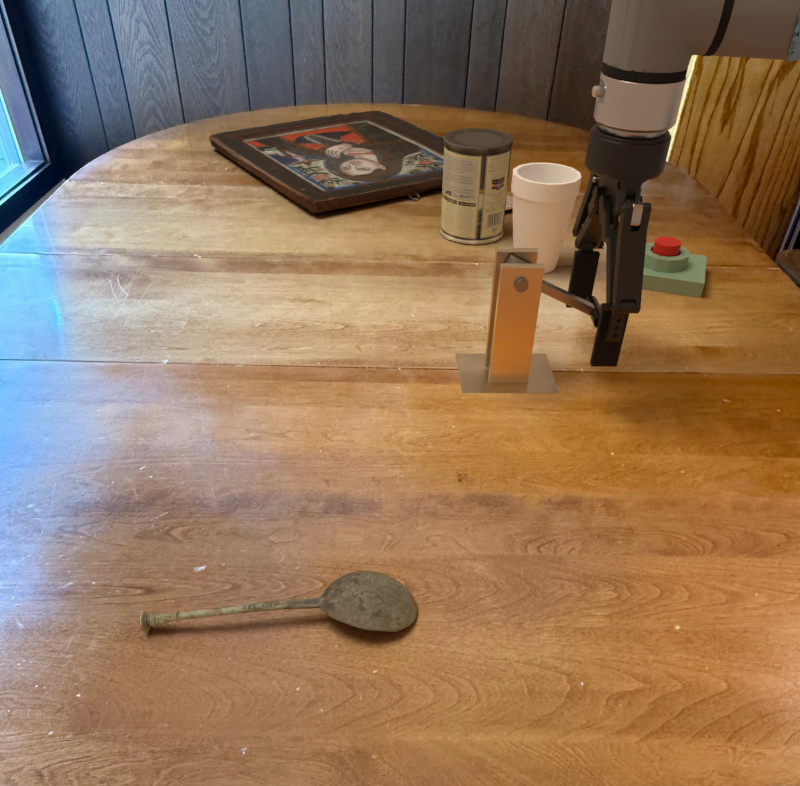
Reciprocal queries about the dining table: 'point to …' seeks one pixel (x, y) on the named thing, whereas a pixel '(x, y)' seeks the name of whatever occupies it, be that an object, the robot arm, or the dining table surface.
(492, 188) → the coffee can
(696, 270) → the button box
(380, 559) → the dining table surface
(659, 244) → the button
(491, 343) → the bracket
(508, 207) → the flatbread
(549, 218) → the foam cup
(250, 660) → the dining table surface
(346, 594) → the soupspoon
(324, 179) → the religious icon
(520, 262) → the lever
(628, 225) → the robot arm
